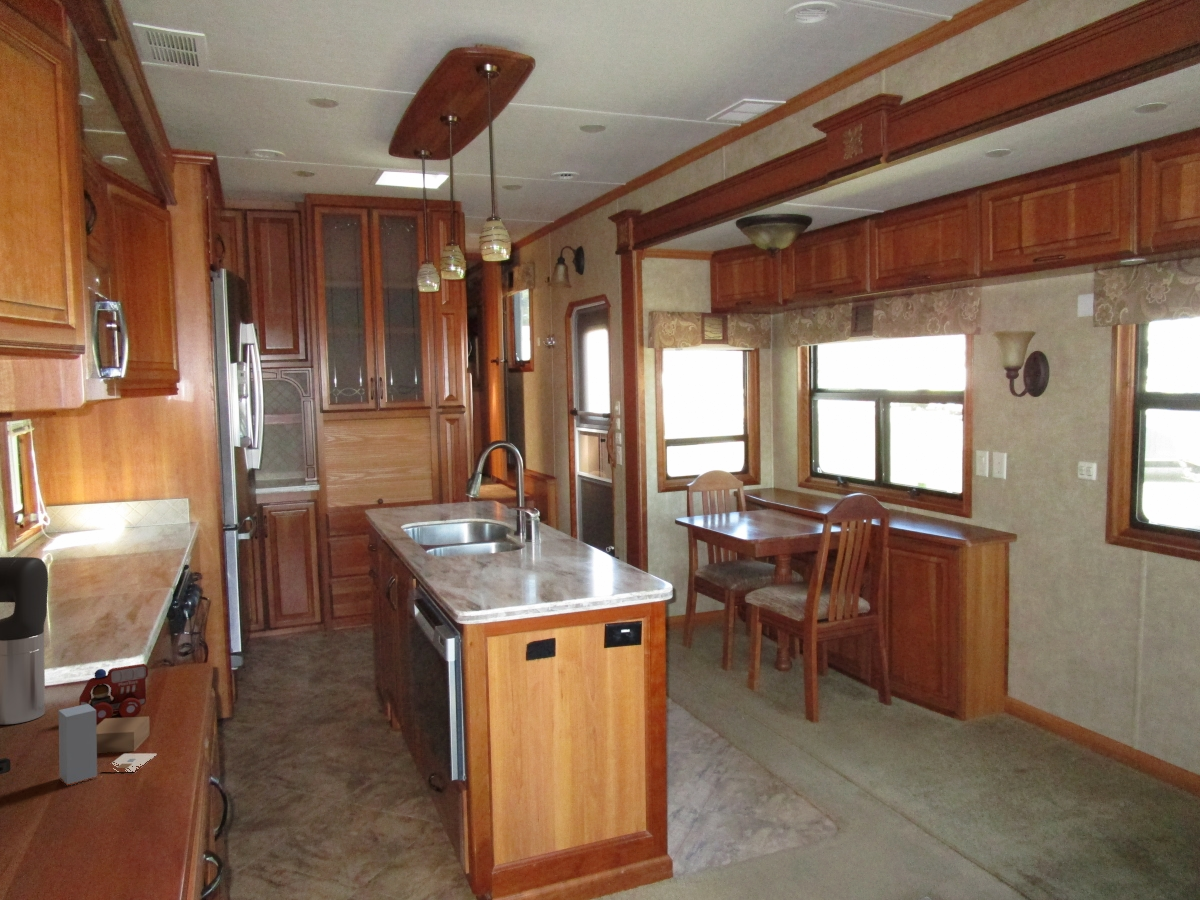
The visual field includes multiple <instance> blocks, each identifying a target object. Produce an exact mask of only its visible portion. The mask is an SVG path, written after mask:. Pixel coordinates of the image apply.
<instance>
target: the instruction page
mask: <svg viewBox="0 0 1200 900" xmlns="http://www.w3.org/2000/svg"><path fill="white" fill-rule="evenodd" d="M154 756H155V757H156V756H157V753H123V754H121V755H120V756H119V757H117V758H116V759H115V760H114V761H112V762H111V763H112V764H113V765H114V764H115V765H114V766H116V765H118V764H119V766H116V767H117V768H125V769H126V770H127V771H128V772H132V771H133V772H135V770H136V768H137V769H139V768H138V767H136V766H139V767H140V766H142V765H144V764H145V763H146V762H147V761H149V760H150V759H151V760H152V759H153V758H155V757H154ZM151 760H150V761H151ZM150 761H149V762H150ZM113 762H115V763H113ZM116 763H117V764H116ZM147 763H148V762H147ZM147 763H146V764H147ZM140 764H141V765H140ZM146 764H145V765H146ZM145 765H144V766H145ZM132 766H133V767H132ZM142 767H143V766H142ZM127 768H129V769H130V770H131V771H130V770H129V769H127ZM113 769H114V768H113ZM114 770H116V769H114ZM126 770H125V771H126ZM139 770H140V769H139ZM116 771H117V770H116ZM127 771H126V772H127ZM117 772H119V771H117ZM135 773H136V772H135Z"/></svg>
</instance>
